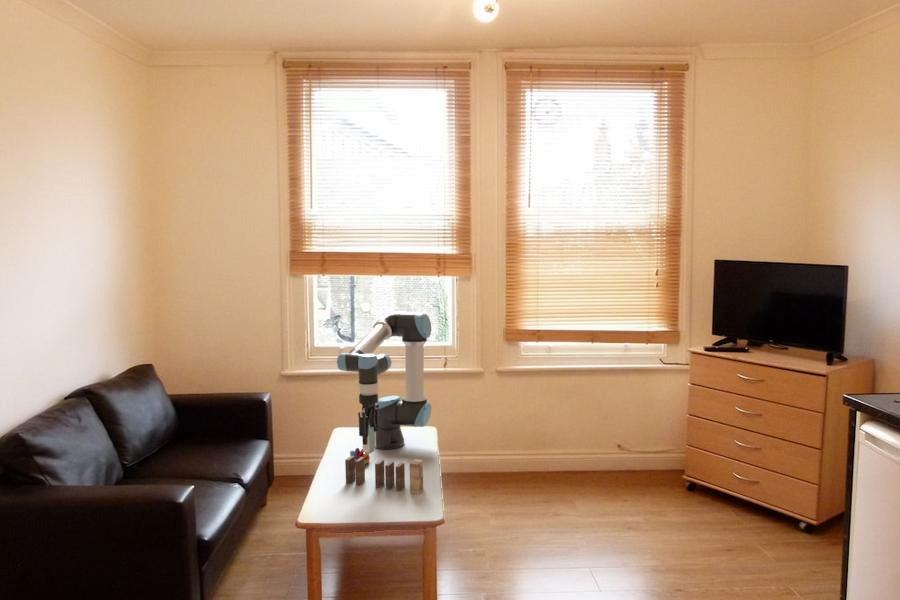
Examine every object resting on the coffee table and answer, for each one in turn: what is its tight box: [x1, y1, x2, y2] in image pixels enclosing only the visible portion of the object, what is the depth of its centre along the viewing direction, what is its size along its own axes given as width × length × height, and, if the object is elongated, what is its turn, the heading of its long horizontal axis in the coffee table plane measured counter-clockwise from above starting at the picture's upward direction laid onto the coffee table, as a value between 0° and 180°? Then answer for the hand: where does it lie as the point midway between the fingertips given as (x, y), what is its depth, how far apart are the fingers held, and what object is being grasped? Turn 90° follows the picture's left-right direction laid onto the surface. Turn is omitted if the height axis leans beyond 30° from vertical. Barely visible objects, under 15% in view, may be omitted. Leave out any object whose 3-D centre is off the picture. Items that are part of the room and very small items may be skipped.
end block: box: [409, 458, 424, 495], centre depth 241 cm, size 5×4×12 cm
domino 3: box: [374, 459, 386, 489], centre depth 246 cm, size 2×5×10 cm, turn 160°
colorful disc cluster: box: [349, 447, 371, 464], centre depth 271 cm, size 8×10×7 cm
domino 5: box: [395, 461, 406, 492], centre depth 243 cm, size 2×5×10 cm, turn 160°
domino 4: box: [384, 460, 396, 491], centre depth 245 cm, size 2×5×10 cm, turn 160°
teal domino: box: [364, 425, 375, 456], centre depth 247 cm, size 2×5×10 cm, turn 160°
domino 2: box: [355, 457, 366, 486], centre depth 250 cm, size 2×5×10 cm, turn 160°
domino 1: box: [344, 455, 356, 485], centre depth 251 cm, size 2×5×10 cm, turn 160°
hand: (369, 449), depth 247 cm, fingers closed on teal domino, 5 cm apart
